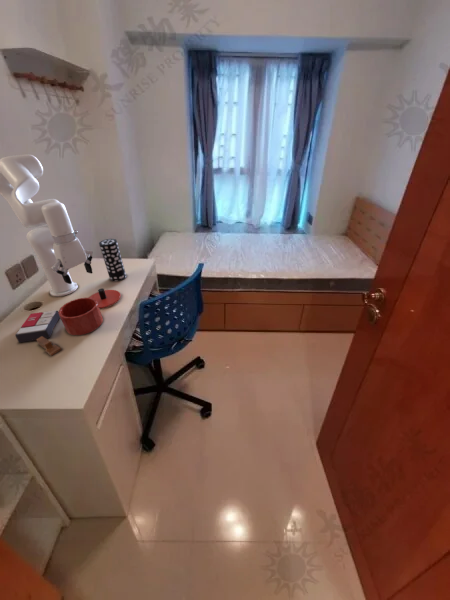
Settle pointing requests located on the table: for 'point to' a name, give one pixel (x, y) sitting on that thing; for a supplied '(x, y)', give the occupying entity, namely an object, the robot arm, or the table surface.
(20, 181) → the robot arm
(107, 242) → the white-spotted black cylinder
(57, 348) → the stepped wooden block pair
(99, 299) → the lid
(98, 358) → the table surface
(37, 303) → the table surface
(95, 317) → the pot
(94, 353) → the table surface
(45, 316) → the calculator
